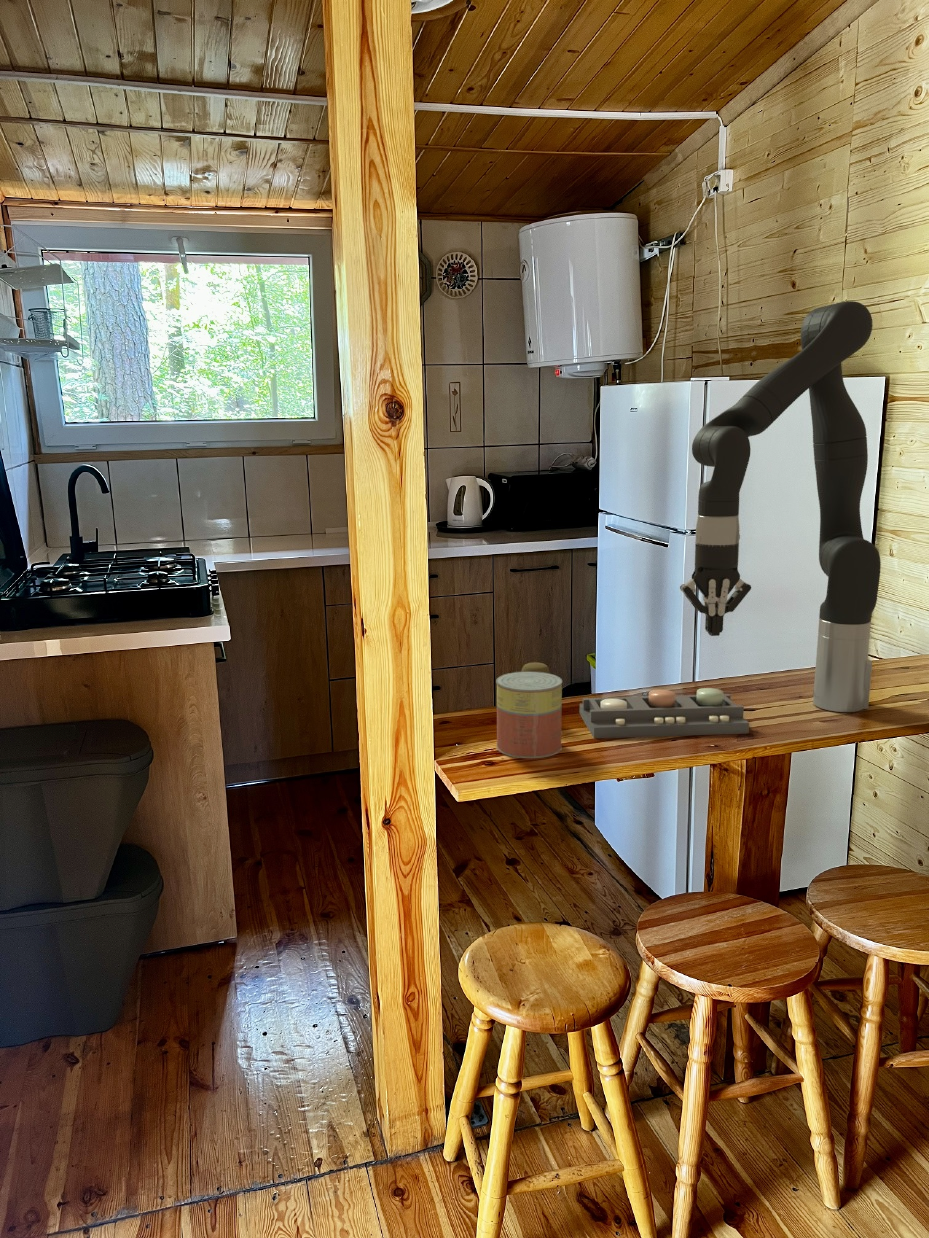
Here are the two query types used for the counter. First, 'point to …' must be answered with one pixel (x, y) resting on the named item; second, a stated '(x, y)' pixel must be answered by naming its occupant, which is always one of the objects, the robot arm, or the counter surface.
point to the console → (663, 718)
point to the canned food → (529, 714)
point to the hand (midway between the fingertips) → (713, 634)
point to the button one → (613, 704)
